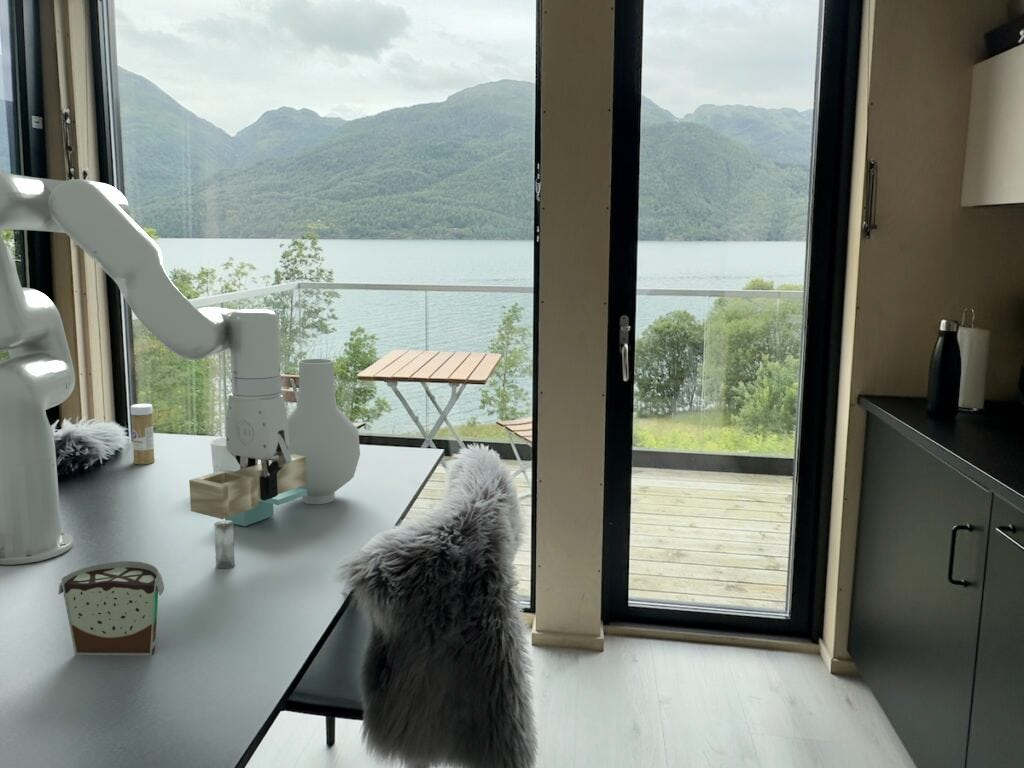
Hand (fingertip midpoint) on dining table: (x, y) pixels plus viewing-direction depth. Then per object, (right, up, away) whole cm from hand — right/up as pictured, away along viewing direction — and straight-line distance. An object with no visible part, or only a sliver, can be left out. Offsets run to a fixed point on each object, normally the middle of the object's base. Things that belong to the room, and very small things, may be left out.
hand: (261, 495), depth 132 cm
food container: (-8, -15, -30) cm, 34 cm away
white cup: (-17, -3, +35) cm, 39 cm away
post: (-4, -10, -5) cm, 12 cm away
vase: (+3, -5, +29) cm, 29 cm away
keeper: (-3, -7, +14) cm, 16 cm away
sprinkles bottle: (-43, 0, +52) cm, 67 cm away
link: (0, 0, -1) cm, 1 cm away
